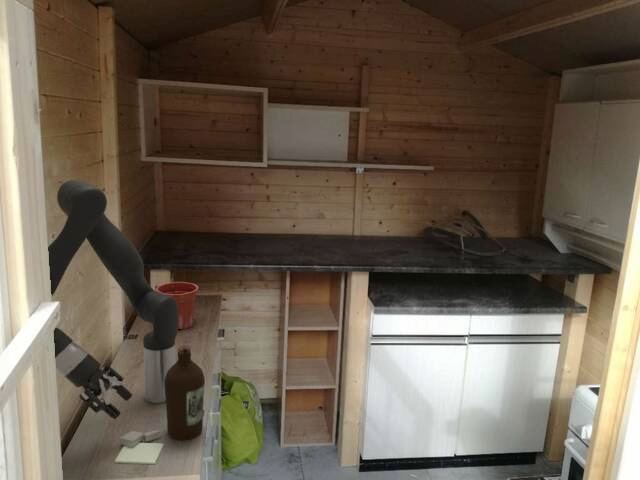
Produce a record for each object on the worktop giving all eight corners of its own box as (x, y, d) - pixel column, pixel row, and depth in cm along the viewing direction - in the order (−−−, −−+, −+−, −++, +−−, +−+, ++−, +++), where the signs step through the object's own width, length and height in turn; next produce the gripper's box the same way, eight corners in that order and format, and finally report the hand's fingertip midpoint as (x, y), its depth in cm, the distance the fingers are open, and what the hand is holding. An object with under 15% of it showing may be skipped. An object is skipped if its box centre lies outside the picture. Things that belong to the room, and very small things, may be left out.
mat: (126, 443, 143) (125, 442, 142) (163, 445, 143) (163, 443, 143) (114, 462, 135) (114, 461, 135) (154, 464, 135) (154, 462, 135)
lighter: (120, 437, 141) (140, 425, 149) (120, 443, 141) (140, 431, 149) (142, 443, 139) (161, 430, 146) (142, 449, 139) (161, 436, 146)
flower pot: (164, 316, 231) (164, 280, 227) (202, 318, 230) (202, 282, 226) (151, 331, 214) (150, 293, 211) (192, 333, 214) (191, 295, 210)
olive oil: (157, 434, 147) (155, 349, 142) (183, 416, 157) (183, 336, 151) (186, 446, 143) (185, 359, 137) (212, 427, 152) (212, 345, 146)
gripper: (73, 367, 126) (124, 413, 129) (97, 342, 140) (143, 384, 143) (52, 387, 127) (103, 432, 130) (78, 360, 141) (123, 401, 144)
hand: (124, 406), depth 136 cm, fingers open, 8 cm apart
